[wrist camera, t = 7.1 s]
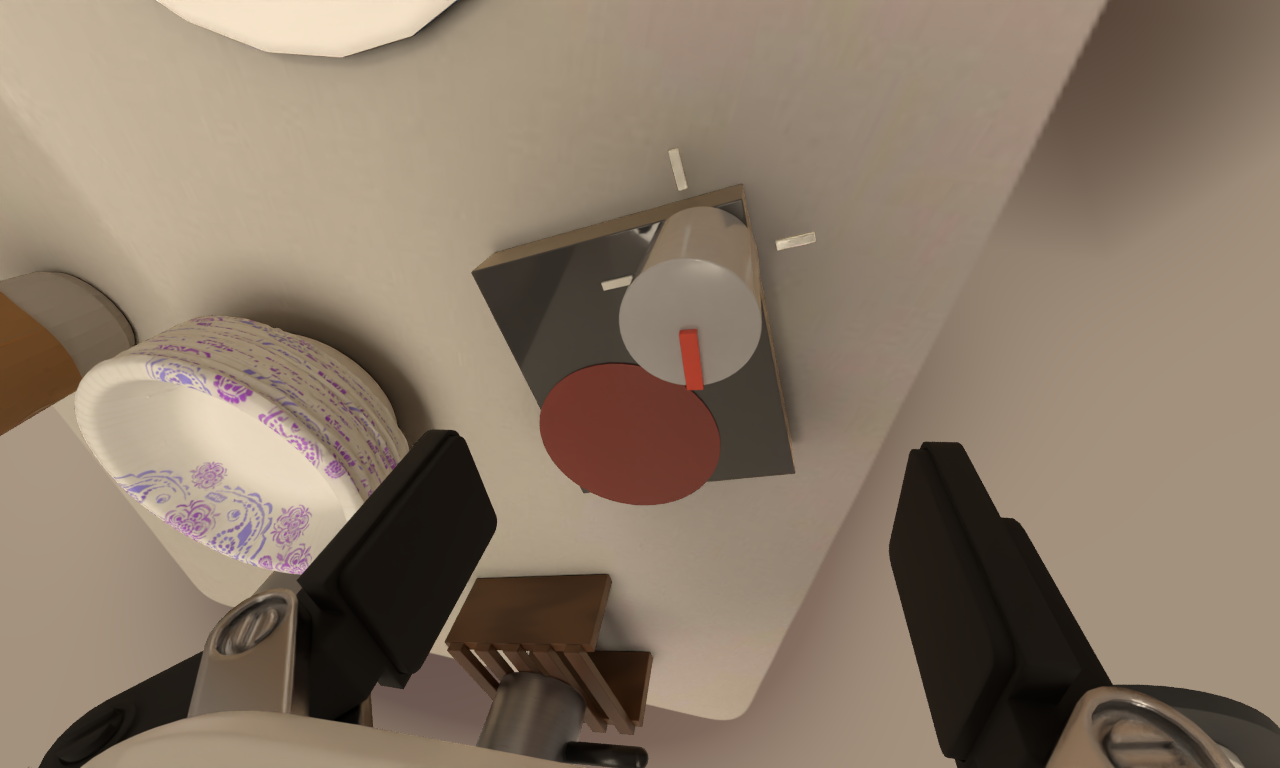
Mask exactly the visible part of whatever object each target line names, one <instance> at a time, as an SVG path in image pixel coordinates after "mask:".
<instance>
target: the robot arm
mask: <svg viewBox="0 0 1280 768" xmlns="http://www.w3.org/2000/svg"><path fill="white" fill-rule="evenodd" d="M496 527H497V517H496V514H495V512H494V509H493V507H492V504H491V502H490V499H489V497H488V495H487V492H486V490H485V487H484V485H483V482H482V480H481V477H480V475H479V472H478V470H477V467H476V465H475V463H474V460H473V458H472V455H471V453H470V450H469V448H468V445H467V443H466V441H465V439H464V438H463V437H460V436H459V434H458V433H457V432H456V431H454V430H429V431H427V432H426V433H425V434H424V435H423V436H422V437H421V438H420V439H419V440H418V442H417V443H416V444H415V445H414V446H413V447H412V448H411V450H410V451H409V452H408V453H407V454H406V455H405V456H404V458H403V459H402V460H401V461H400V462H399V463H398V465H397V466H396V467H395V468H394V469H393V470H392V471H391V473H390V474H389V475H388V476H387V477H386V478H385V479H384V481H383V482H382V483H381V484H380V485H379V486H378V487H377V489H376V490H375V491H374V492H373V493H372V494H371V495H370V497H369V498H368V499H367V500H366V501H365V502H364V503H363V505H362V506H361V507H360V508H359V509H358V510H357V512H356V513H355V514H354V515H353V516H352V517H351V518H350V520H349V521H348V522H347V523H346V524H345V525H344V526H343V528H342V529H341V530H340V531H339V532H338V533H337V534H336V536H335V537H334V538H333V539H332V540H331V541H330V542H329V544H328V545H327V546H326V547H325V548H324V549H323V551H322V552H321V553H320V554H319V555H318V556H317V557H316V559H315V560H314V561H313V562H312V563H311V564H310V565H309V567H308V568H307V569H306V570H305V571H304V572H303V573H302V575H301V576H300V577H299V578H298V579H297V580H296V581H297V582H298V583H299V584H300V586H301V587H302V588H301V590H300V591H299V592H298V593H297V594H296V595H295V594H294V593H293V592H292V591H291V590H289V589H285V588H275V589H269V590H266V591H263V592H260V593H257V594H255V595H253V596H252V597H250V598H248V599H246V600H244V601H243V602H241V603H240V604H238V605H237V606H236V607H234V608H233V609H232V610H230V611H229V612H228V613H227V614H226V615H225V616H224V617H223V618H222V619H221V620H220V621H219V622H218V623H217V625H216V626H215V627H214V629H213V630H212V631H211V633H210V635H209V637H208V639H207V641H206V644H205V646H204V651H202V652H200V653H198V654H196V655H194V656H192V657H190V658H188V659H186V660H184V661H182V662H180V663H178V664H176V665H174V666H173V667H171V668H169V669H167V670H165V671H163V672H161V673H159V674H157V675H155V676H153V677H151V678H149V679H147V680H146V681H143V682H141V683H139V684H138V685H136V686H134V687H132V688H130V689H128V690H126V691H124V692H122V693H120V694H118V695H116V696H114V697H112V698H110V699H108V700H106V701H105V702H103V703H102V704H100V705H98V706H97V707H95V708H93V709H92V710H90V711H89V712H87V713H86V714H85V715H84V716H82V717H81V718H80V719H79V720H77V721H76V722H75V723H73V724H72V725H71V726H70V727H69V728H68V729H67V730H66V731H65V732H64V733H63V734H62V735H61V736H60V737H59V738H58V739H57V740H56V742H55V743H54V744H53V745H52V747H51V748H50V749H49V751H48V752H47V753H46V755H45V756H44V758H43V760H42V762H41V764H40V766H39V768H587V767H581V766H576V765H571V764H566V763H561V762H555V761H550V760H545V759H540V758H534V757H529V756H524V755H518V754H513V753H508V752H502V751H497V750H492V749H486V748H481V747H476V746H470V745H465V744H459V743H454V742H448V741H443V740H437V739H432V738H427V737H421V736H416V735H410V734H405V733H399V732H394V731H388V730H383V729H378V728H373V720H372V704H371V691H372V690H373V688H374V686H375V685H376V683H377V681H378V683H379V684H380V685H381V686H387V687H393V688H400V689H404V687H405V686H406V684H407V682H408V680H409V678H410V677H411V675H412V674H414V673H416V672H417V671H418V670H419V669H420V668H421V666H422V665H423V663H424V661H425V659H426V657H427V656H428V654H429V652H430V650H431V648H432V647H433V645H434V643H435V641H436V639H437V637H438V636H439V634H440V632H441V630H442V628H443V626H444V625H445V623H446V621H447V619H448V617H449V615H450V614H451V612H452V610H453V608H454V606H455V604H456V603H457V601H458V599H459V597H460V595H461V593H462V591H463V590H464V588H465V586H466V584H467V582H468V580H469V579H470V577H471V575H472V573H473V571H474V569H475V568H476V566H477V564H478V562H479V560H480V558H481V557H482V555H483V553H484V551H485V549H486V547H487V546H488V544H489V542H490V540H491V538H492V536H493V535H494V533H495V530H496ZM889 556H890V562H891V566H892V570H893V573H894V577H895V581H896V585H897V589H898V592H899V596H900V600H901V603H902V607H903V611H904V615H905V619H906V622H907V626H908V630H909V633H910V637H911V641H912V645H913V648H914V652H915V655H916V660H917V663H918V667H919V671H920V674H921V678H922V682H923V686H924V689H925V693H926V697H927V701H928V704H929V708H930V712H931V715H932V719H933V723H934V727H935V731H936V734H937V738H938V742H939V745H940V748H941V750H942V752H943V754H944V756H945V757H947V758H953V759H955V761H956V765H957V768H1245V767H1244V765H1243V764H1242V762H1241V761H1240V760H1239V758H1238V757H1237V756H1236V755H1235V754H1234V753H1233V752H1231V751H1230V750H1229V749H1228V748H1225V747H1223V746H1221V745H1219V744H1217V743H1216V742H1215V741H1213V740H1212V739H1211V738H1210V737H1209V736H1208V735H1207V734H1206V733H1205V732H1204V731H1203V730H1202V729H1201V728H1200V727H1199V726H1198V725H1196V724H1195V723H1194V722H1193V721H1191V720H1190V719H1188V718H1187V717H1185V716H1184V715H1182V714H1181V713H1180V712H1178V711H1177V710H1175V709H1174V708H1172V707H1171V706H1169V705H1167V704H1165V703H1163V702H1161V701H1159V700H1157V699H1155V698H1153V697H1151V696H1149V695H1147V694H1144V693H1141V692H1137V691H1134V690H1130V689H1127V688H1123V687H1114V686H1113V684H1112V683H1111V681H1110V679H1109V677H1108V676H1107V674H1106V672H1105V671H1104V669H1103V667H1102V665H1101V663H1100V662H1099V660H1098V658H1097V656H1096V655H1095V653H1094V651H1093V649H1092V648H1091V646H1090V644H1089V642H1088V640H1087V639H1086V637H1085V635H1084V634H1083V632H1082V630H1081V628H1080V626H1079V625H1078V623H1077V621H1076V620H1075V618H1074V616H1073V614H1072V612H1071V611H1070V609H1069V607H1068V605H1067V604H1066V602H1065V600H1064V598H1063V597H1062V595H1061V593H1060V591H1059V590H1058V588H1057V586H1056V584H1055V582H1054V581H1053V579H1052V577H1051V575H1050V574H1049V572H1048V570H1047V568H1046V567H1045V565H1044V563H1043V562H1042V560H1041V558H1040V556H1039V554H1038V553H1037V551H1036V549H1035V547H1034V546H1033V544H1032V542H1031V541H1030V539H1029V537H1028V535H1027V533H1026V532H1025V530H1024V529H1023V527H1022V526H1021V525H1020V523H1018V522H1017V521H1016V520H1015V519H1013V518H1001V517H1000V515H999V513H998V511H997V509H996V507H995V506H994V504H993V502H992V500H991V498H990V496H989V494H988V492H987V491H986V489H985V487H984V485H983V483H982V481H981V480H980V478H979V476H978V474H977V472H976V470H975V468H974V466H973V464H972V462H971V460H970V459H969V457H968V455H967V453H966V451H965V449H964V448H963V446H962V445H961V444H960V443H958V442H923V444H922V445H921V448H920V449H912V450H911V451H910V454H909V458H908V463H907V467H906V471H905V476H904V480H903V485H902V490H901V494H900V498H899V503H898V508H897V512H896V516H895V521H894V525H893V530H892V534H891V539H890V544H889ZM29 768H31V767H29Z"/></svg>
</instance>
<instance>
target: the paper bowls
mask: <svg viewBox="0 0 1280 768" xmlns="http://www.w3.org/2000/svg"><path fill="white" fill-rule="evenodd" d="M75 412H76V418H77V422H78V425H79V428H80V430H81V433H82V435H83V437H84V439H85V441H86V443H87V444H88V446H89V448H90V449H91V451H92V452H93V454H94V456H95V457H96V458H97V460H98V461H99V462H100V464H101V465H102V466H103V468H104V469H105V470H106V471H107V472H108V473H109V474H110V476H111V477H112V478H113V479H114V480H115V481H116V482H117V483H118V484H119V485H120V486H121V487H122V488H123V489H124V490H125V491H126V492H127V493H128V494H129V495H130V496H132V497H133V498H134V499H135V500H136V501H137V502H139V503H140V504H141V505H142V506H143V507H145V508H146V509H147V510H148V511H150V512H151V513H153V514H154V515H155V516H157V517H158V518H160V519H161V520H162V521H164V522H165V523H167V524H168V525H170V526H171V527H173V528H174V529H176V530H178V531H179V532H181V533H183V534H184V535H186V536H188V537H190V538H192V539H193V540H195V541H197V542H199V543H201V544H203V545H205V546H207V547H209V548H211V549H213V550H215V551H217V552H219V553H221V554H224V555H226V556H229V557H231V558H234V559H236V560H238V561H242V562H245V563H247V564H250V565H253V566H257V567H260V568H264V569H268V570H273V571H278V572H283V573H289V574H298V575H299V574H301V575H302V573H303V572H304V571H305V570H306V569H307V568H308V567H309V565H310V564H311V563H312V562H313V561H314V560H315V559H316V557H317V556H318V555H319V554H320V553H321V552H322V551H323V549H324V548H325V547H326V546H327V545H328V544H329V542H330V541H331V540H332V539H333V538H334V537H335V536H336V534H337V533H338V532H339V531H340V530H341V529H342V528H343V526H344V525H345V524H346V523H347V522H348V521H349V520H350V518H351V517H352V516H353V515H354V514H355V513H356V512H357V510H358V509H359V508H360V507H361V506H362V505H363V503H364V502H365V501H366V500H367V499H368V498H369V497H370V495H371V494H372V493H373V492H374V491H375V490H376V489H377V487H378V486H379V485H380V484H381V483H382V482H383V481H384V479H385V478H386V477H387V476H388V475H389V474H390V473H391V471H392V470H393V469H394V468H395V467H396V466H397V465H398V463H399V462H400V461H401V460H402V459H403V458H404V456H405V455H406V454H407V453H408V452H409V447H408V443H407V440H406V438H405V436H404V435H403V433H402V431H401V430H400V429H399V428H398V426H397V420H396V417H395V414H394V411H393V408H392V406H391V404H390V402H389V400H388V398H387V396H386V395H385V393H384V392H383V390H382V389H381V388H380V387H379V385H378V384H377V383H376V382H375V380H374V379H373V378H372V377H371V376H370V375H369V374H368V373H367V372H366V371H365V370H364V369H363V368H361V367H360V366H359V365H358V364H357V363H355V362H354V361H353V360H351V359H350V358H349V357H347V356H346V355H344V354H342V353H341V352H339V351H337V350H336V349H334V348H332V347H330V346H328V345H326V344H324V343H321V342H319V341H317V340H313V339H310V338H307V337H304V336H300V335H295V334H290V333H288V332H283V331H282V330H281V329H279V328H272V327H270V326H269V325H266V324H262V323H259V322H256V321H252V320H249V319H246V318H238V317H233V316H232V317H228V316H223V315H221V316H213V315H211V316H204V317H198V318H195V319H191V320H189V321H187V322H184V323H181V324H179V325H176V326H174V327H173V328H171V329H169V330H166V331H164V332H163V333H160V334H158V335H157V336H155V337H153V338H151V339H148V340H145V341H143V342H141V343H139V344H137V345H136V346H134V347H131V348H130V349H128V350H126V351H123V352H121V353H119V354H118V355H117V356H115V357H113V358H111V359H108V360H104V361H102V362H100V363H98V364H97V365H95V366H94V367H93V368H92V369H91V370H90V371H89V372H88V373H87V374H86V375H85V376H84V377H83V379H82V380H81V382H80V384H79V386H78V388H77V391H76V394H75Z"/></svg>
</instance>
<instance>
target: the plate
mask: <svg viewBox="0 0 1280 768" xmlns="http://www.w3.org/2000/svg"><path fill="white" fill-rule="evenodd" d="M156 1H157V2H159V3H160V4H162V5H163V6H165V7H166V8H168V9H169V10H171V11H172V12H174V13H175V14H177V15H178V16H180V17H181V18H183V19H184V20H186V21H188V22H191V23H193V24H196V25H198V26H201V27H203V28H206V29H209V30H211V31H214V32H216V33H219V34H221V35H224V36H227V37H229V38H232V39H234V40H237V41H239V42H242V43H245V44H247V45H250V46H252V47H255V48H257V49H260V50H263V51H265V52H273V53H287V54H301V55H314V56H328V57H346V56H349V55H352V54H356V53H359V52H362V51H366V50H369V49H372V48H375V47H379V46H382V45H385V44H388V43H392V42H395V41H398V40H401V39H405V38H408V37H411V36H414V35H416V34H417V33H418V32H420V31H421V30H422V29H423V28H425V27H426V26H427V25H428V24H429V23H431V22H432V21H433V20H434V19H436V18H437V17H438V16H439V15H441V14H442V13H443V12H444V11H446V10H447V9H448V8H449V7H451V6H452V5H453V4H454V3H456V2H457V1H458V0H156Z"/></svg>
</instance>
